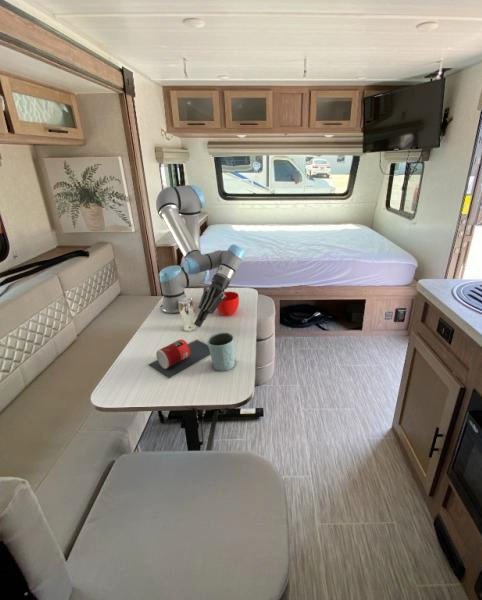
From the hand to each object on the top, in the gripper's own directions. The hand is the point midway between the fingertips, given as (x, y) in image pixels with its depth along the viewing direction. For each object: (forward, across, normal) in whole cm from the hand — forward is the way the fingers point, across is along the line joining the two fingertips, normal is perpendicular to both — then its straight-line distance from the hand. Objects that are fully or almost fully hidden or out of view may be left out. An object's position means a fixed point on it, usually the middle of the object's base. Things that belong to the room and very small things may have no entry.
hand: (196, 325), depth 137 cm
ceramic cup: (-13, -18, +29) cm, 37 cm away
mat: (+14, 0, +2) cm, 14 cm away
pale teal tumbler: (+9, +18, +6) cm, 21 cm away
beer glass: (+2, -20, +14) cm, 24 cm away
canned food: (+10, +1, 0) cm, 10 cm away
